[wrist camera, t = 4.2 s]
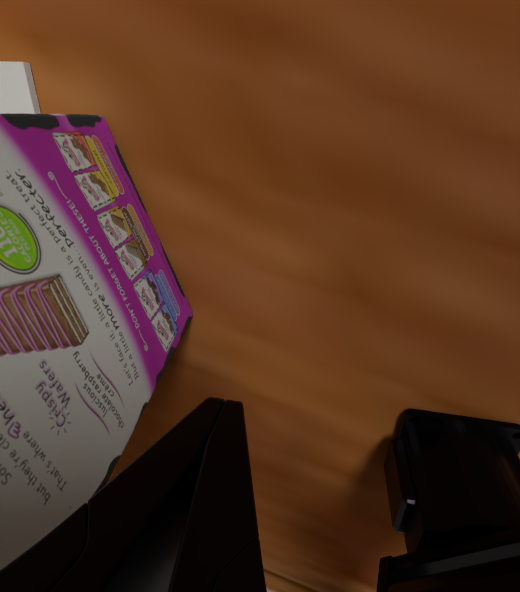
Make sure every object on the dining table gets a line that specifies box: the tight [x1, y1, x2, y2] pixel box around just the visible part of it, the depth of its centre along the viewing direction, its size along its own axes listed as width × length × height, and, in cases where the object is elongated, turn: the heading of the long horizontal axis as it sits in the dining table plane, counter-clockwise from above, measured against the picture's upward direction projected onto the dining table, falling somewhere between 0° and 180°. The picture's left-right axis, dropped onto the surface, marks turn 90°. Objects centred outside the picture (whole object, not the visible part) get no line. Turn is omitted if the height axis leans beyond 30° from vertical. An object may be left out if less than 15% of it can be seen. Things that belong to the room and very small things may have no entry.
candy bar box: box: [0, 113, 193, 570], centre depth 12 cm, size 11×5×16 cm, turn 18°
